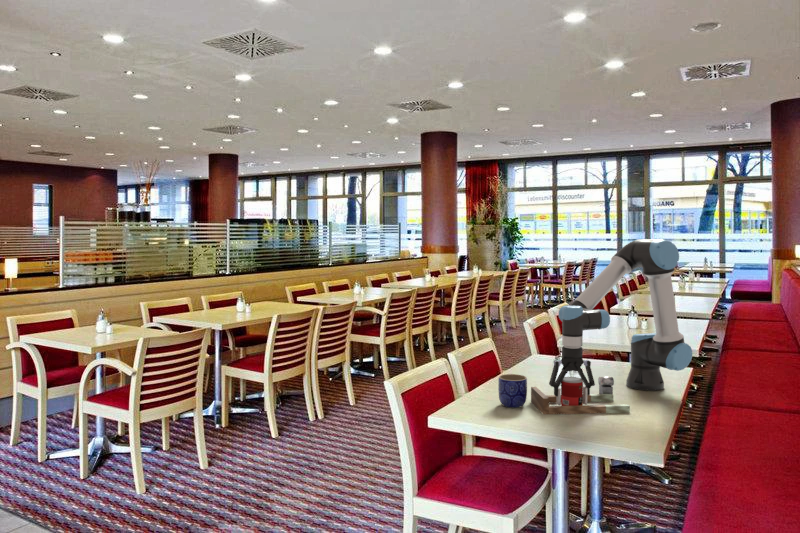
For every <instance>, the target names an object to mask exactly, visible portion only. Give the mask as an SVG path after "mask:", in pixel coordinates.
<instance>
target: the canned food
mask: <svg viewBox="0 0 800 533" xmlns="http://www.w3.org/2000/svg"><path fill="white" fill-rule="evenodd" d="M583 386H584V382H583V379H581V377H577V376H565V377H564V379H563V380H562V382H561V384H560V389H561V403H560V406H579V405H583V404H584V403H583Z"/></svg>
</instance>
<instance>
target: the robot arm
mask: <svg viewBox="0 0 800 533" xmlns="http://www.w3.org/2000/svg"><path fill="white" fill-rule="evenodd" d="M679 260H680V253H679V249H678V247H677V246H676V245H675V243H673V242H672V241H670V240H667V239H663V238H662V239H661V238H657V239H655V238H652V239H649V238H648V239H647V238H645V239H643V238H640V239H639V238H638V239H635V240H632V241H630V242H628V243H627V244H625V245H624V246H623V247H622V248H620V249H619V250H617V252H616V253H615V254H614V255H613V256H612V257H611V258H610V262H609V264H608V265H606V267H605V268H604V269H603V270H602V271H601V272H600V273H599V274H598V275H597V276H596V277H595V278H594V280H592V281H591V283H590V284H589V285H588V286H587V287H586V288H584V290H583V291H582V292H581V293H580V294H579V295H578V296H577V297H576V298H575V300H573V302H571V303H570V304H567V305H563V306H561V307H560V308H559V310H558V318H559V320H560V321H561V326H562V327H561V328H562V330H561V331H562V332H561V334H562V336H561V338H562V339H561V342H562V343H561V345H562V347H561V359H560V360H556V359H555V360H553V368H552V372H551V376H550V379H549V382H548V385H549V386H550V387H551V388H553V395H555V396H556V403H555V404H556V406H561V382H562V380H563V379H564V377H566V375H567V374H568V372H572V371H573V372H577V373H578V375H579V378H581V379H583V404H584V405H588V402H587V396H589V395H590V394H591V388H592V387H595V385H596V382H595V379H594V376H593V372H592V368H591V363H592V362H591V361H590V360H589V359H585V360H584V359H583V342H584V340H583V332H584V331H590V330H594V331H595V330H602V329H603V330H604V329H607V328H608V327H609V326H610V322H611V316H610V313H609V312H608V311H607V310H605V309H599V308H597V309H594V308H595V307H596V306H597V305H598V304H599V303H600V302H601V301H602V300H603V299H604V298H605V296H607V294H608V293H609V292H610V291H611V290H612V289H613V288H614V287H615V286H616V285H617V284H618V283H619V281H620V280H622V279H623V278H624V277H625V275H627V274H628V275H629V274H630V273H632V271H634V270H635V269H637V268H638V269H639V268H642V272H643V275H644V276H645V277H646V278H647V280H648V287H649V292H650V301H651V305H652V306H651V307H652V312H653V313H652V314H653V315H652V316H653V320H654V321H653V322H654V329H655V333H654V332H651V333H650V332H649V333H636V334H635V333H634V334H633V335H632V336H631V342H630V369H629V372H628V375H627V377H626V386H627V387H629V388H631V389H635V390H640V391H661V390H663V389H665V382H664V379H663V375H662V373H661V372H662V371H661V368H663V369H667V370H669V371H676V372H679V371H683V370H685V369H686V368H687V367H688V366H689V364H690V363H691V362H692V359H693V350H692V347H691V345H689V344H688V343H686V342H685V337H684V335H683V334H682V333H681V332H680V330H679V322H678V318H677V317H678V316H677V309H676V308H677V307H676V302H675V295H674V287H673V281H672V275H673V273H675V268H676V267H677V265H678V262H679ZM561 365H562V368H561V370H560V373H559V368H560V366H561ZM583 365H584V367H585V371H586V375H587V378H586V375H585V373H584V372H583V369H582V368H581V367H582V366H583ZM558 373H559V374H558Z"/></svg>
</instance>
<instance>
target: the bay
mask: <svg viewBox="0 0 800 533" xmlns="http://www.w3.org/2000/svg"><path fill="white" fill-rule="evenodd" d="M530 402H531V404H533V405H534V407H535V408H537V410H539V412H540V413H542V414H543V415H545V416H546V415H581V414H582V415H583V414H585V415H586V414H619V413H620V414H623V413H625V414H627V413H630V411H631V408H630V407H631V406H630V405H629V404H627V403H626V404H624V403H623V404H622V403H621V404H587V405H585V404H584V405H579V406H561V405H551V406H550V404H551V403H553V404H556V396H555V395H554V394H545V393H544V392H543V391H542V390H540V389H539V388H538V387H537V386H531V387H530ZM593 402H594V403H596V402H600V403H601V402H614V394H613V395H612V394H599V393H590V395H589V396H587V403H593Z"/></svg>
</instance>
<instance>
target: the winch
mask: <svg viewBox="0 0 800 533" xmlns="http://www.w3.org/2000/svg"><path fill="white" fill-rule="evenodd" d="M597 383H598V394H612V395H613V396H614V394H613V392H614V391H613V390H614V387H613V386H614V385H615V381H614V378H613V376H599V377H598V379H597Z"/></svg>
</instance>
